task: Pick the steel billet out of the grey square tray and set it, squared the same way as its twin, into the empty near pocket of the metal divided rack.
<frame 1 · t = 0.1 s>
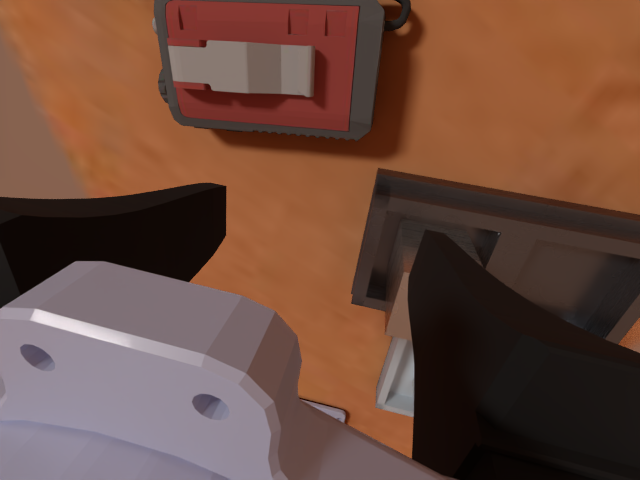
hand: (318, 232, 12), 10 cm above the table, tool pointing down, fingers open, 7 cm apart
grey square tray: (442, 365, 27), on the table
metal divided rack: (484, 255, 22), on the table
seated billet: (424, 252, 21), point 1 cm above the table, touching metal divided rack
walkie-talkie: (229, 45, 19), on the table
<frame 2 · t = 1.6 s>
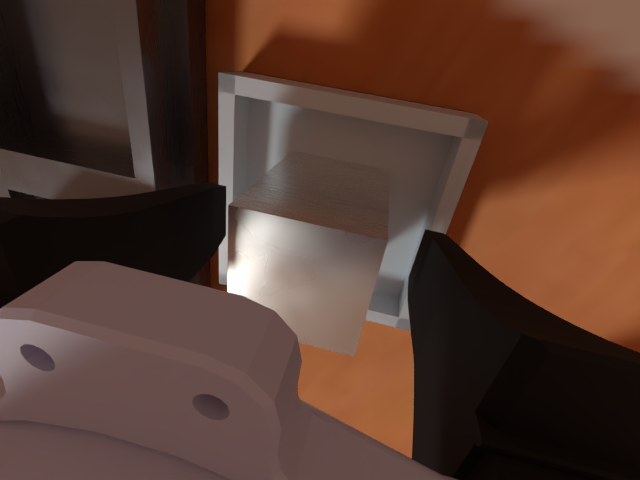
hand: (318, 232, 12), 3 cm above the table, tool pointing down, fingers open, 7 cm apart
grey square tray: (334, 200, 15), on the table
metal divided rack: (120, 164, 16), on the table
loose billet: (332, 205, 14), point 1 cm above the table, touching grey square tray
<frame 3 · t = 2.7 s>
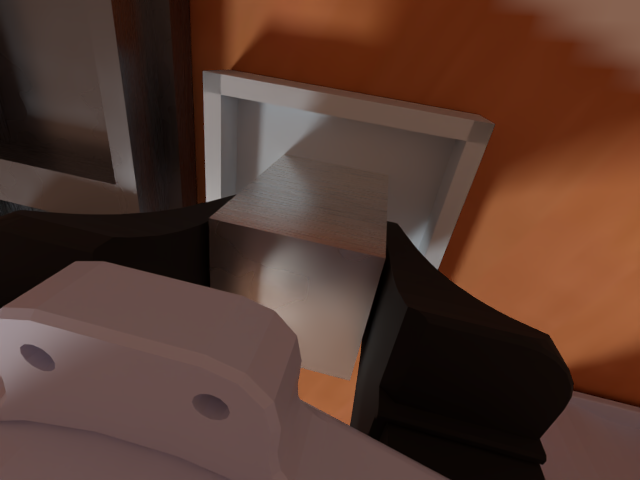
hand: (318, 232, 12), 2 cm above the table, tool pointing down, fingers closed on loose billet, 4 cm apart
grey square tray: (329, 206, 14), on the table
metal divided rack: (104, 168, 15), on the table
loose billet: (327, 212, 13), point 1 cm above the table, touching gripper, grey square tray
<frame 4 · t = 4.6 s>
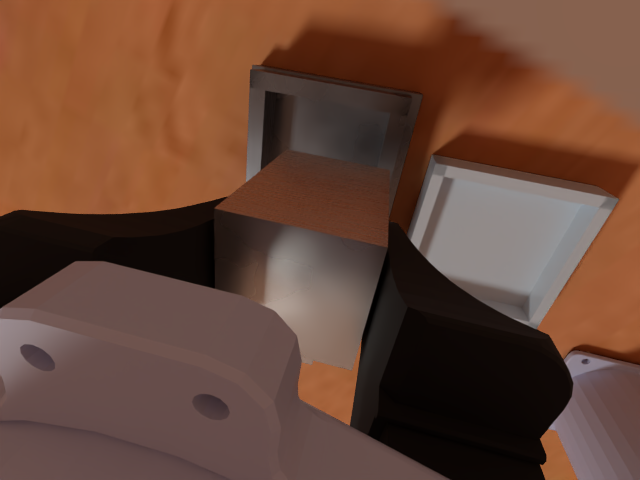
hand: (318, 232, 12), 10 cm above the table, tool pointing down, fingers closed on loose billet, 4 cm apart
grey square tray: (481, 239, 21), on the table
metal divided rack: (318, 210, 22), on the table
loose billet: (329, 207, 14), point 8 cm above the table, touching gripper
when the fingers open (4 cm above the table, at t = 6.6 s): loose billet stays where it is, resting on metal divided rack.
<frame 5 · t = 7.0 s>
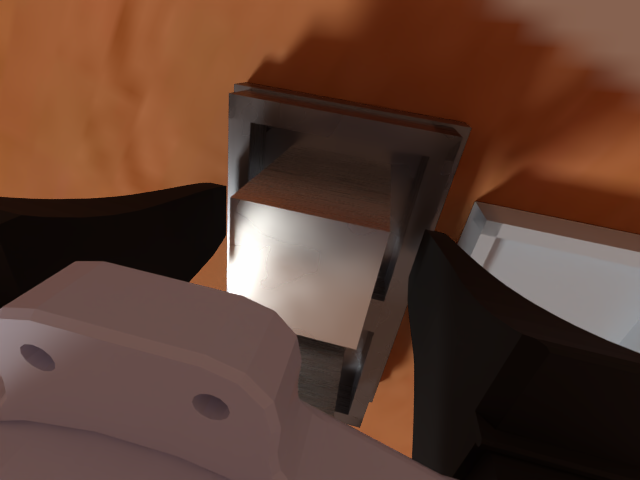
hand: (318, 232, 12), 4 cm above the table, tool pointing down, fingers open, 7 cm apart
grey square tray: (534, 305, 16), on the table
metal divided rack: (322, 264, 17), on the table
loose billet: (332, 200, 14), point 1 cm above the table, touching metal divided rack
seated billet: (307, 336, 18), point 1 cm above the table, touching metal divided rack
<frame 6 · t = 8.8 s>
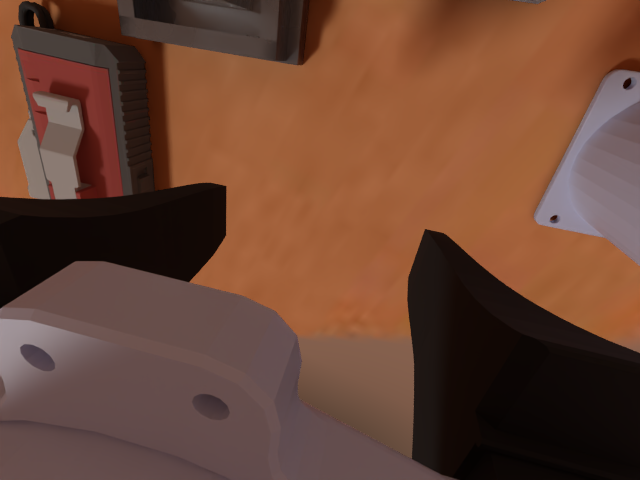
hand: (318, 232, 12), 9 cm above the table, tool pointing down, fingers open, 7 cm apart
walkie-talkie: (107, 173, 24), on the table
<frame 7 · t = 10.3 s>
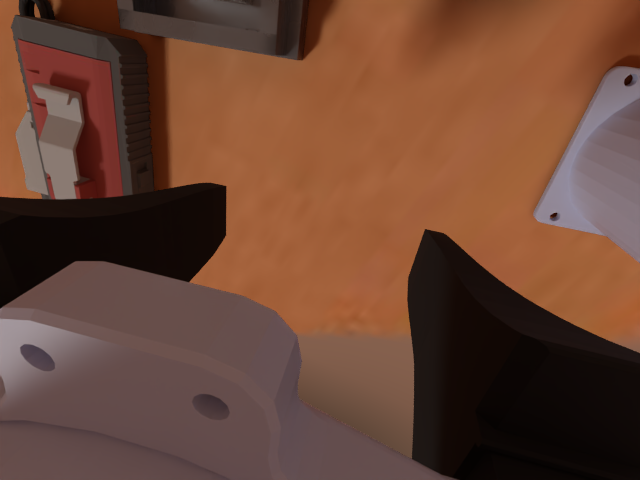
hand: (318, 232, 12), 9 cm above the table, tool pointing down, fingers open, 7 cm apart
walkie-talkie: (105, 167, 24), on the table
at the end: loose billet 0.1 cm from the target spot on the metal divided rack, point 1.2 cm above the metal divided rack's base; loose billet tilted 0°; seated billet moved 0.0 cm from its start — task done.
